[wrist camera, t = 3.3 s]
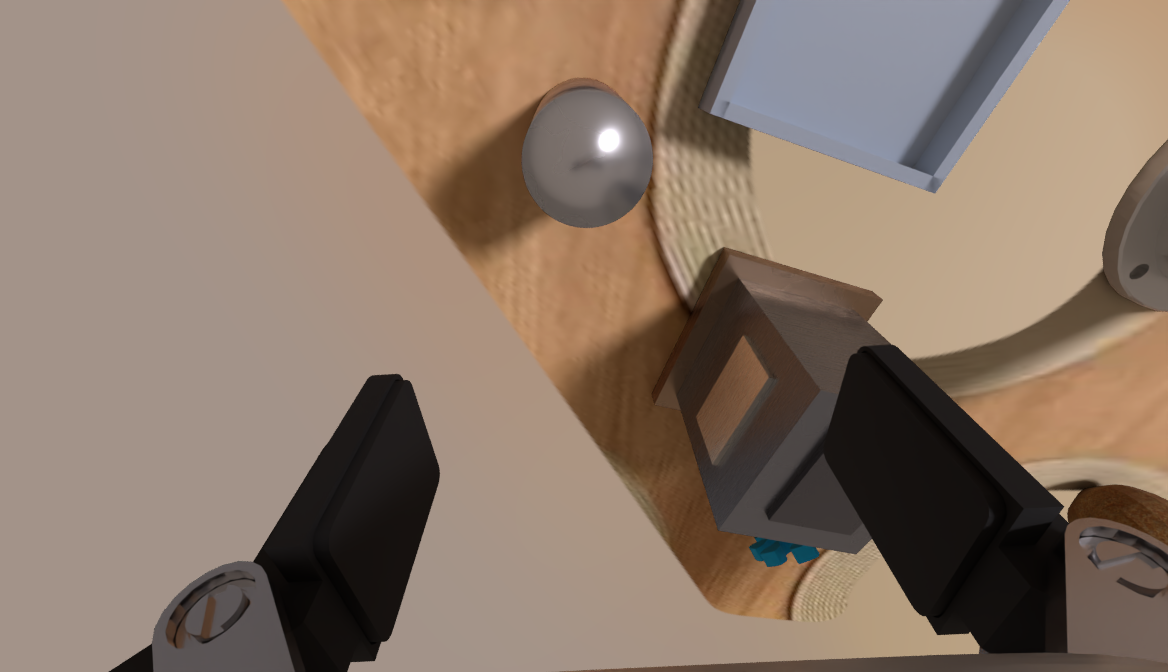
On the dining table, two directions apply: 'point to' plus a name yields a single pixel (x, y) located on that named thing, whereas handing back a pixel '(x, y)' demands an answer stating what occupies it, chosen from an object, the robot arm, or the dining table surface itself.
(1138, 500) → the fruit
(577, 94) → the metal cylinder
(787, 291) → the box with rectangular openings
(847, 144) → the tray
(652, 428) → the dining table surface
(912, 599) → the robot arm
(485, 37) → the dining table surface
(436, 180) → the dining table surface
